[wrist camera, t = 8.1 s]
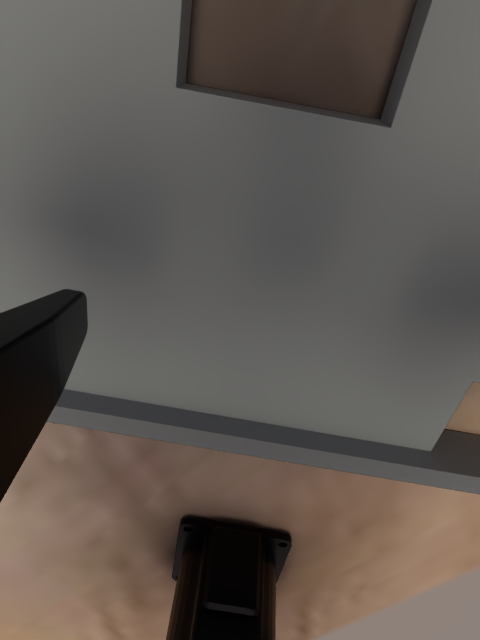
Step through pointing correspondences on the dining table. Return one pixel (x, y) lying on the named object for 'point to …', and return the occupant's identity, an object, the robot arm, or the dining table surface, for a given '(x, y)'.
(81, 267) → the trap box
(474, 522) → the dining table surface
